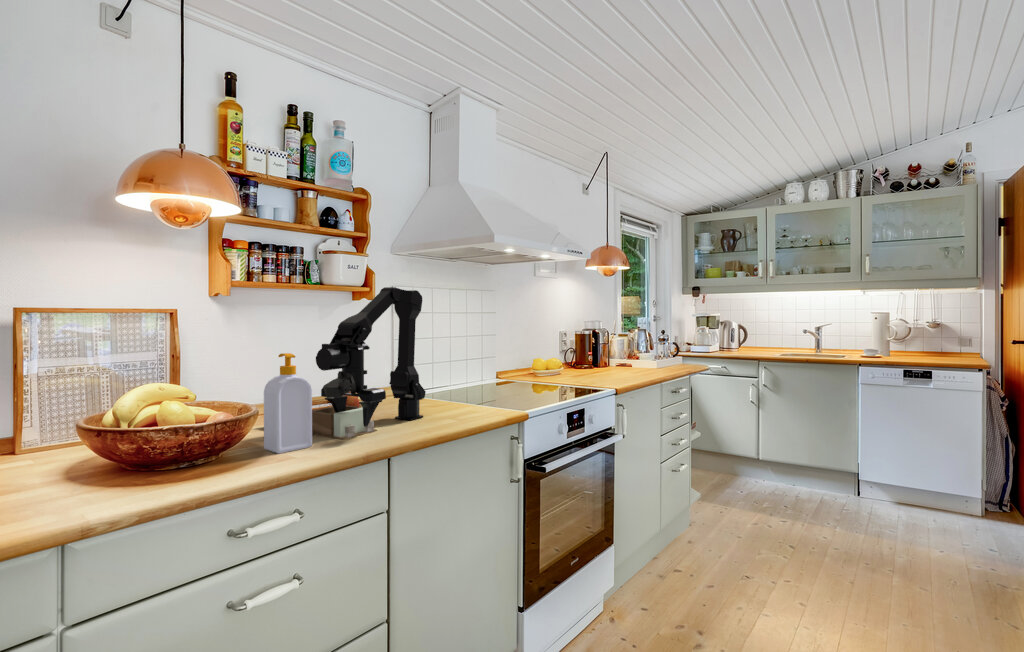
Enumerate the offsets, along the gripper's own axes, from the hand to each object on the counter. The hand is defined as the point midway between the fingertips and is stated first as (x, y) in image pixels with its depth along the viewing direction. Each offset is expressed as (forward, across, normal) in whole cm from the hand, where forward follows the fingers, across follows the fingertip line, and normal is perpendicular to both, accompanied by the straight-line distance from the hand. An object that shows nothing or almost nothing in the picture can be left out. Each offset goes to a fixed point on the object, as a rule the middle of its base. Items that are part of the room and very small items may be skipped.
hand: (353, 424), depth 144 cm
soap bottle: (+3, -2, -19) cm, 19 cm away
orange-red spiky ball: (+3, -19, +16) cm, 25 cm away
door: (+2, 0, 0) cm, 2 cm away
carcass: (+3, -4, 0) cm, 5 cm away
